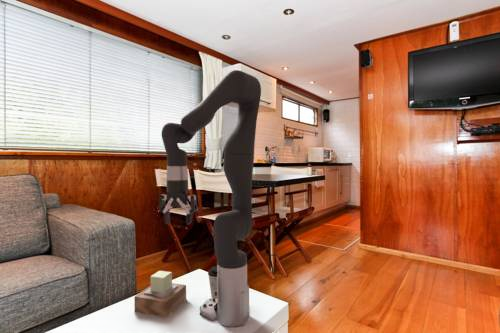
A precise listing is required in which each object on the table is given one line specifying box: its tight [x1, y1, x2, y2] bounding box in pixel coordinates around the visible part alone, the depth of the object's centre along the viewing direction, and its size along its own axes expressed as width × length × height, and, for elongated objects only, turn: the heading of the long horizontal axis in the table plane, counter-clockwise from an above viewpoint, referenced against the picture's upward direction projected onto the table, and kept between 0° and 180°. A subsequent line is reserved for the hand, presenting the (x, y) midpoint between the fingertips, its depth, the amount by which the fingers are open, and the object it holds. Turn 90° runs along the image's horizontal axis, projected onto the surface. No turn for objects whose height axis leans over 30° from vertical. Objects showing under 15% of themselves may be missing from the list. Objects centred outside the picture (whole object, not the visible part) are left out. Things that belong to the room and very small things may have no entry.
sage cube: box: [149, 270, 173, 293], centre depth 93 cm, size 5×5×5 cm
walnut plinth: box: [134, 282, 187, 318], centre depth 93 cm, size 12×12×6 cm
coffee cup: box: [207, 265, 217, 299], centre depth 99 cm, size 7×7×10 cm
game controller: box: [199, 297, 218, 321], centre depth 89 cm, size 10×5×6 cm
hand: (178, 223), depth 99 cm, fingers open, 8 cm apart
